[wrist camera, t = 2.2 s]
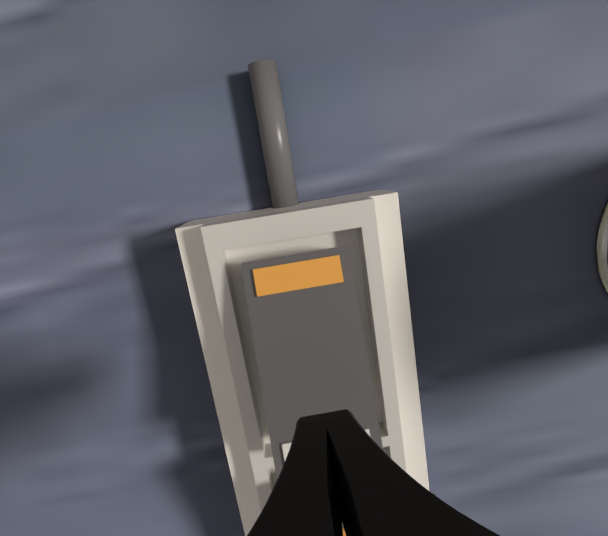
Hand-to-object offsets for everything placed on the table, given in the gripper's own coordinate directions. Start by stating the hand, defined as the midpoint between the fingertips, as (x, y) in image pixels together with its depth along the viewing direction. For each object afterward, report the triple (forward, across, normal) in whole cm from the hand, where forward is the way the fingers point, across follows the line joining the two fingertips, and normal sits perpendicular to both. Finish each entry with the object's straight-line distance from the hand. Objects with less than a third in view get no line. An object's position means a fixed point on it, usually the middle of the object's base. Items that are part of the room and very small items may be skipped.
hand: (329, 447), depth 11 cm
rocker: (+6, 0, 0) cm, 6 cm away
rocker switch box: (+10, 0, +2) cm, 11 cm away
